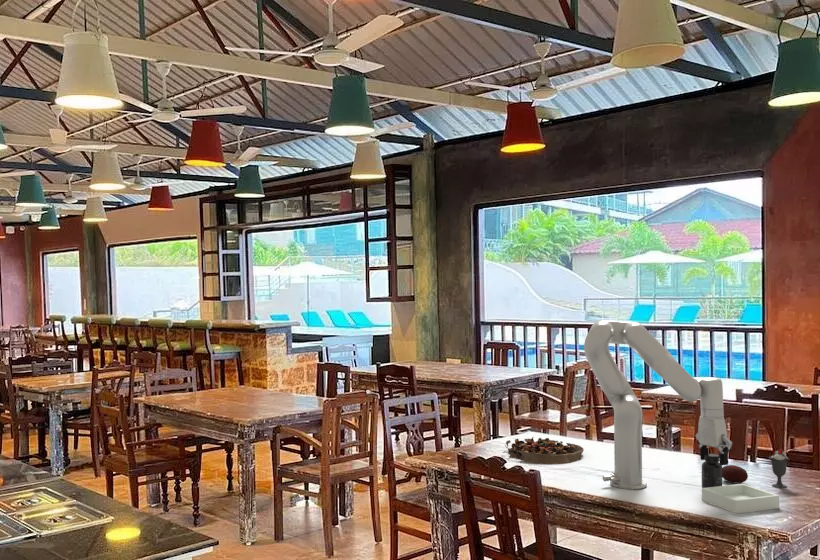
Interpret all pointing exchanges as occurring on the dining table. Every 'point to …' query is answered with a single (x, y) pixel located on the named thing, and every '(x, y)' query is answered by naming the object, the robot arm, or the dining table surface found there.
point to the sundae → (779, 466)
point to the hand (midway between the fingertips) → (714, 462)
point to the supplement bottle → (711, 471)
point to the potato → (734, 474)
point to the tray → (740, 498)
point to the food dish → (544, 451)
